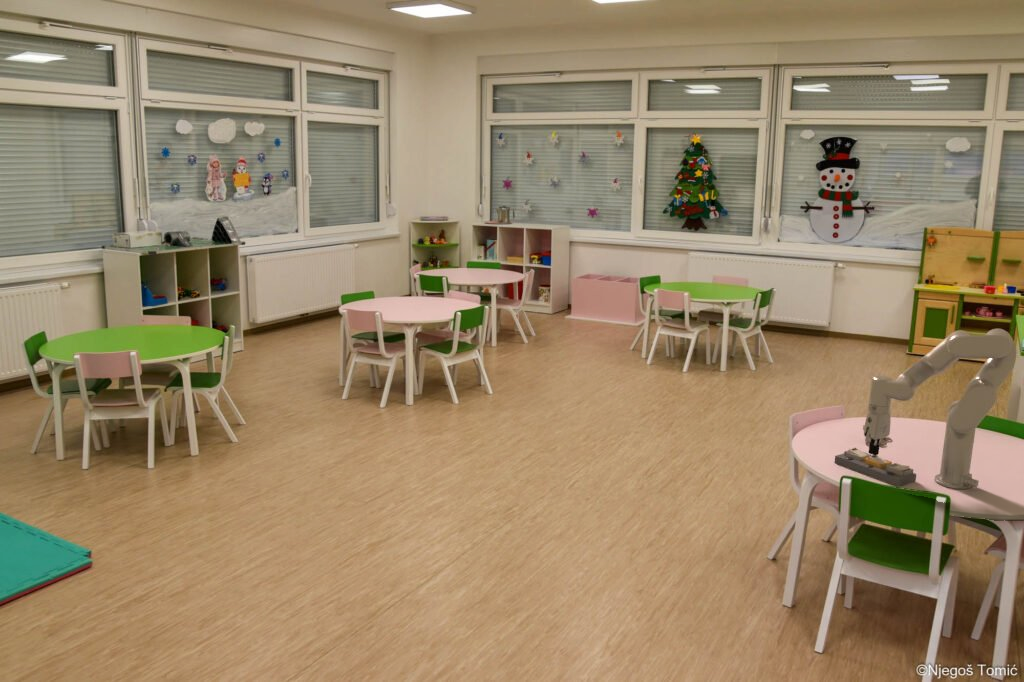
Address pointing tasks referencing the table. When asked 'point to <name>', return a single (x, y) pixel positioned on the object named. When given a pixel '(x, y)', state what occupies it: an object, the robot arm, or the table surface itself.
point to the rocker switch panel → (876, 469)
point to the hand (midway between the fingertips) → (873, 453)
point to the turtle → (883, 441)
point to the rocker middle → (877, 459)
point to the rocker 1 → (857, 452)
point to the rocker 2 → (900, 467)
